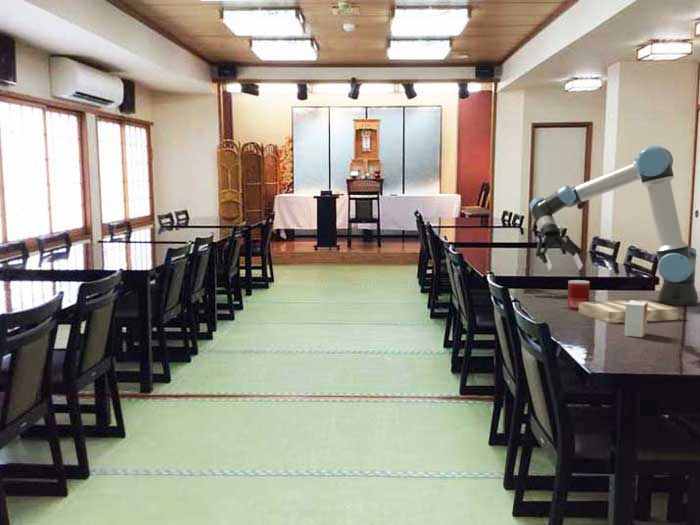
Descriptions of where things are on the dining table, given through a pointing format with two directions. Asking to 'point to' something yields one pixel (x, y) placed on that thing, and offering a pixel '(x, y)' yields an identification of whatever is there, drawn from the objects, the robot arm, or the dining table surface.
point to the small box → (636, 318)
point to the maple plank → (617, 310)
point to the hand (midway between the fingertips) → (565, 268)
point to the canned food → (577, 293)
